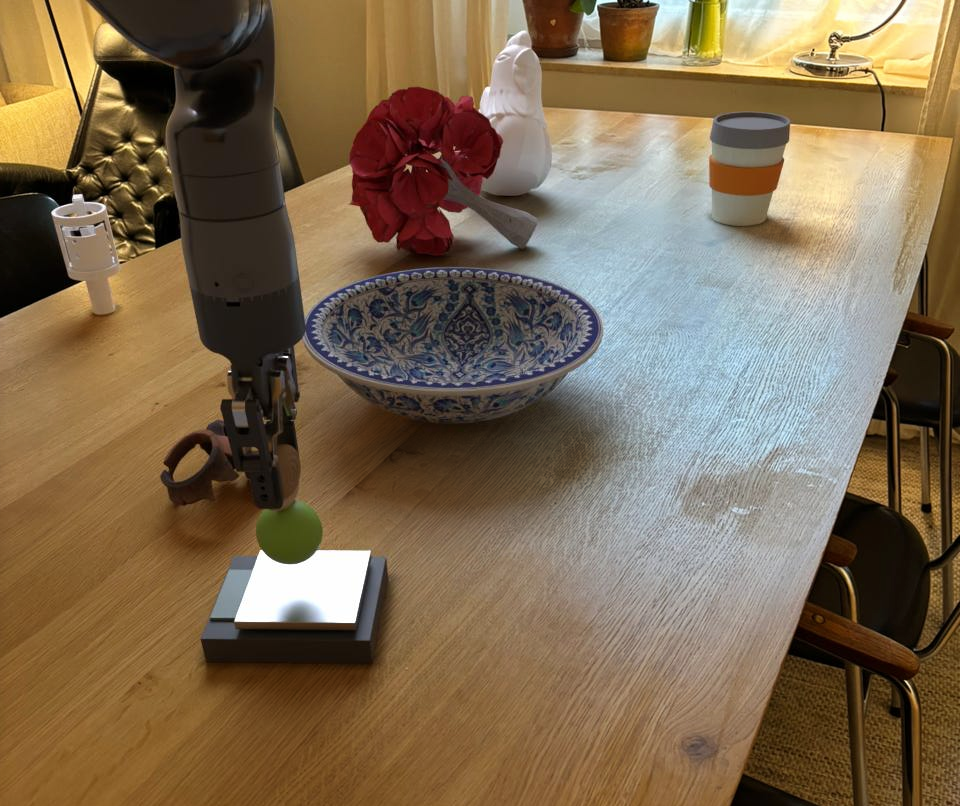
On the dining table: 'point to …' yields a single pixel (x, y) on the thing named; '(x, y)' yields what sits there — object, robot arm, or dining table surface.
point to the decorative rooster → (517, 120)
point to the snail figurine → (289, 518)
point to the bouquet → (449, 181)
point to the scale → (291, 644)
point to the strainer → (89, 250)
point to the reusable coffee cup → (745, 165)
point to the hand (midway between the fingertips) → (278, 484)
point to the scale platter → (305, 592)
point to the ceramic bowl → (452, 340)
